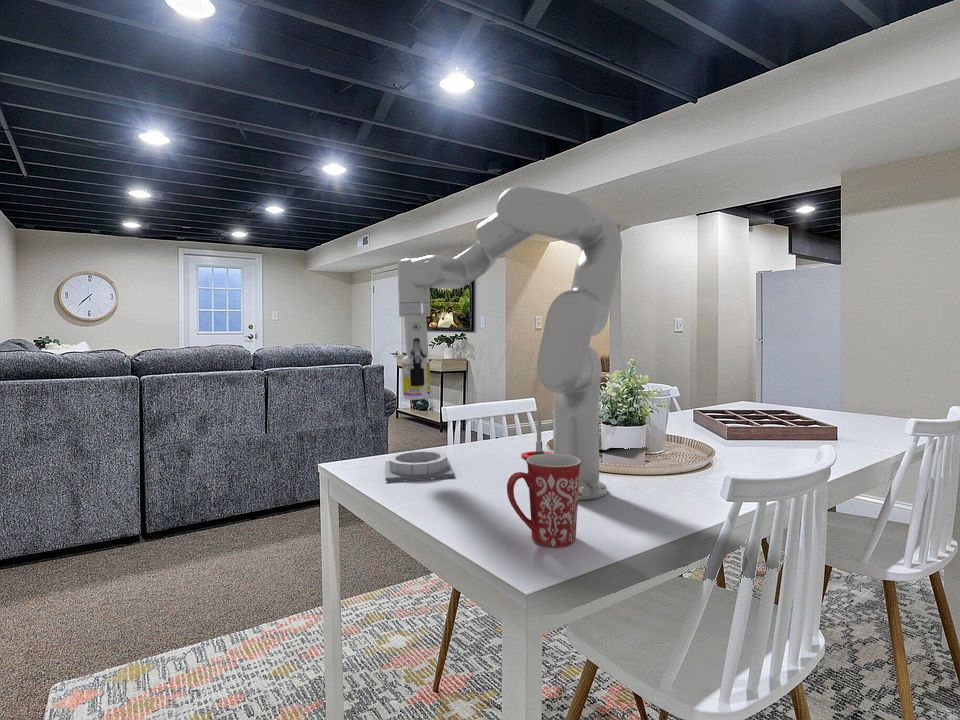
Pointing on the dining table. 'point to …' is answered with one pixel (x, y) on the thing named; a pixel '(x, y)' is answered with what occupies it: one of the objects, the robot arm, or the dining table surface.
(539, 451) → the tow hook
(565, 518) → the mug
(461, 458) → the dining table surface
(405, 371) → the supplement bottle
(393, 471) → the ring block
